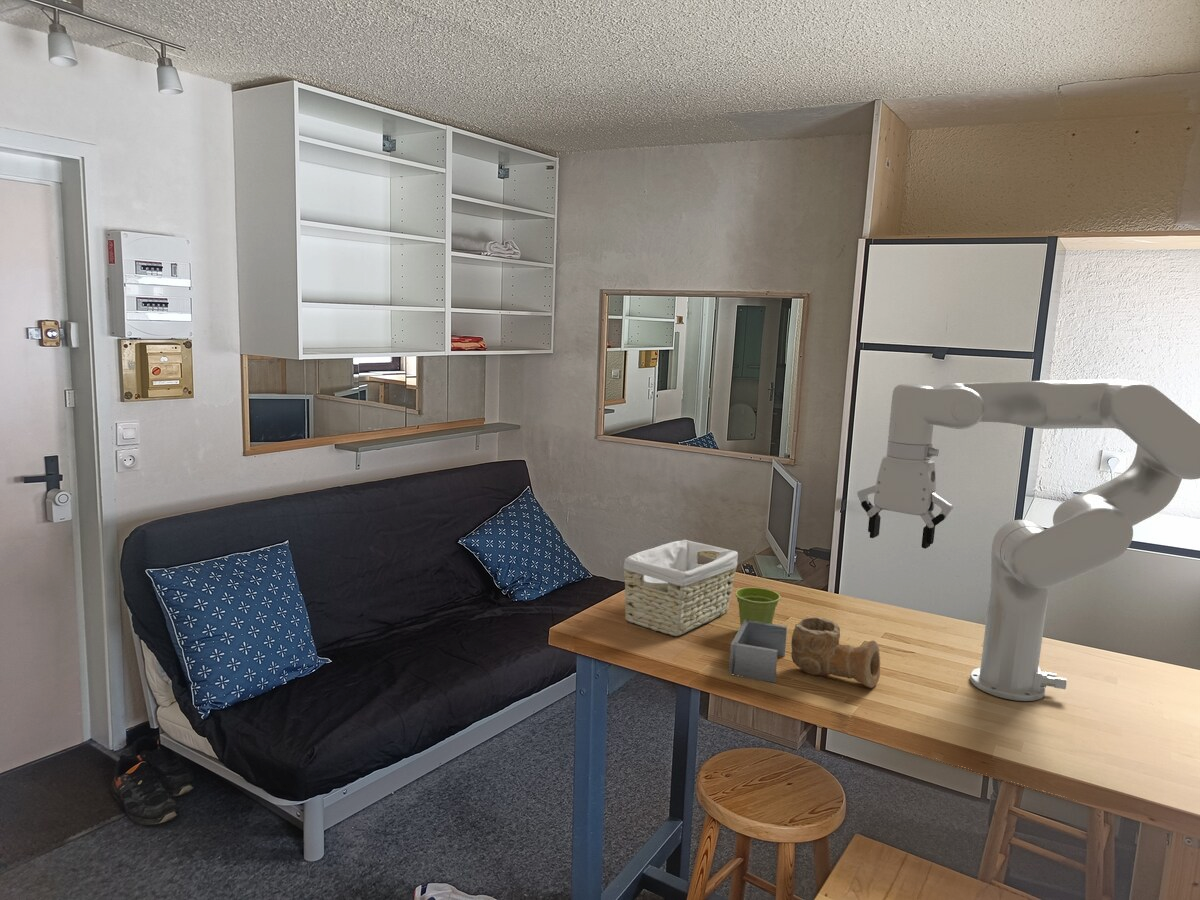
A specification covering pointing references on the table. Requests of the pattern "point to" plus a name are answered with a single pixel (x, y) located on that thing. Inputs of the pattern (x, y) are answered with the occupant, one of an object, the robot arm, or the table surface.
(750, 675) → the gray channel bracket
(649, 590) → the storage basket
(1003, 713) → the table surface
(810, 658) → the pipe
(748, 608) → the plant pot
